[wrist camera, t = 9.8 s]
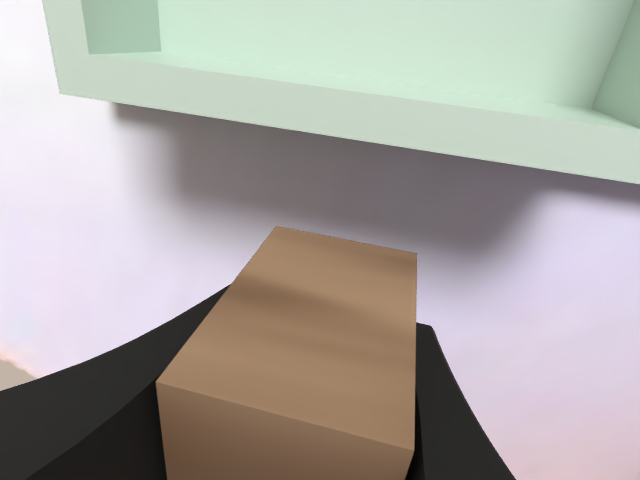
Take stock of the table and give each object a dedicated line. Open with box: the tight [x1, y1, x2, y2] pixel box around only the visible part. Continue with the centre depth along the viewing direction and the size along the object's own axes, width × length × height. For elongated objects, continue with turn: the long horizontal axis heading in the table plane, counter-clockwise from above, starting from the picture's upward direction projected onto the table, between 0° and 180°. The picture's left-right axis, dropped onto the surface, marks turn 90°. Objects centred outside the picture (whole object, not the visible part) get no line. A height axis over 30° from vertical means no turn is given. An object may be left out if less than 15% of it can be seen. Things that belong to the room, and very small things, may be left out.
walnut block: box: [156, 226, 417, 480], centre depth 9 cm, size 4×4×6 cm
